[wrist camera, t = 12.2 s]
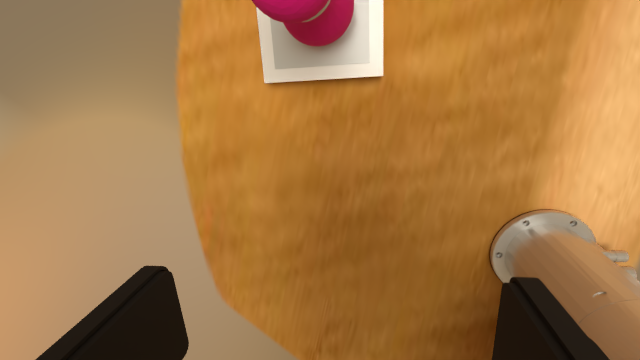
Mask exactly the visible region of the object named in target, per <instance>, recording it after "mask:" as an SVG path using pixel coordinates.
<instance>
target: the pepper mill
mask: <svg viewBox="0 0 640 360" xmlns="http://www.w3.org/2000/svg"><path fill="white" fill-rule="evenodd" d="M252 1H253V3H254V4H255V5H256V7H257V8H258V9H259V10H260V11H262V12H263V13H264V14H265V15H267V16H268V17H270V18H272V19H273V20H276V21H279V22H283V24H284V25H285V27H286V29H287V30H288V31H289V33H290V34H291V35H292V36H293V37H294V38H295V39H296V40H298V41H299V42H301V43H303V44H306V45H309V46H325V45H328V44H330V43H332V42H334V41H336V40H337V39H339V38H340V37H341V36H342V35H343V34H344V32H345V31H346V29H347V28H348V26H349V24H350V22H351V19H352V16H353V12H354V0H252Z"/></svg>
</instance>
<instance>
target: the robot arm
mask: <svg viewBox="0 0 640 360" xmlns="http://www.w3.org/2000/svg"><path fill="white" fill-rule="evenodd" d="M523 221H524V222H523ZM490 260H491V264H492V267H493V269H494V271H495V273H496V275H497V276H498V277H499V279H500V280H501V281H502V282H503V283H504V284H503V286H502V291H501V299H500V306H499V313H498V320H497V327H496V334H495V341H494V348H493V356H492V360H640V282H639V281H638V280H637V273H636V271H635V270H634V268H633V267H630V266H619V265H617V264H616V263H615V262H627V261H628V260H629V255H628V253H627V252H626V251H624V250H612V251H606V250H605V249H603V248H602V247H601V246H599V245H598V244H597V243H596V238H595V236H594V234H593V232H592V231H591V229H590V228H589V227H588V226H587V225H586V224H585V223H584V222H582V221H581V220H580V219H578V218H576V217H575V216H573V215H571V214H568V213H566V212H563V211H557V210H538V211H532V212H529V213H526V214H523V215H521V216H519V217H517V218H515V219H513V220H512V221H510V222H509V223H507V224H506V225H505V226H504V227H503V228H502V229H501V230H500V231H499V233H498V234H497V236H496V237H495V239H494V241H493V243H492V246H491V251H490ZM613 261H614V262H613ZM188 344H189V342H188V337H187V333H186V328H185V324H184V320H183V316H182V312H181V308H180V303H179V299H178V295H177V291H176V287H175V282H174V278H173V275H172V273H171V272H169V271H168V269H167V268H166V267H164V266H144V267H143V268H141V269H140V270H139V271H138V272H136V273H135V274H134V275H133V276H132V277H131V278H130V279H128V280H127V281H126V282H125V283H124V284H123V285H122V286H120V287H119V288H118V289H117V290H116V291H115V292H113V293H112V294H111V295H110V296H109V297H108V298H106V299H105V300H104V301H103V302H102V303H101V304H99V305H98V306H97V307H96V308H95V309H94V310H92V311H91V312H90V313H89V314H88V315H87V316H86V317H85V318H83V319H82V320H81V321H80V322H79V323H77V325H75V326H74V327H73V328H72V329H71V330H69V331H68V332H67V333H66V334H65V335H64V336H62V337H61V338H60V339H59V340H58V341H57V342H56V343H54V344H53V345H52V346H51V347H50V348H49V349H47V350H46V351H45V352H44V353H43V354H42V355H40V356H39V357H38V358H37V359H36V360H182V359H183V358H184V356H185V354H186V353H187V350H188Z"/></svg>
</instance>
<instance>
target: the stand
mask: <svg viewBox="0 0 640 360" xmlns="http://www.w3.org/2000/svg"><path fill="white" fill-rule="evenodd" d="M256 9H257V18H258V27H259V36H260V45H261V55H262V64H263V73H264V82H265V83H277V82H293V81H309V80H325V79H341V78H358V77H374V76H383V0H354V12H353V16H352V19H351V22H350V24H349V26H348V28H347V29H346V31H345V32H344V34H343V35H342V36H341V37H340V38H339V39H337V40H336V41H334V42H332V43H330V44H328V45H325V46H309V45H306V44H303V43H301V42H299V41H298V40H296V39H295V38H294V37H293V36H292V35H291V34H290V33H289V31H288V30H287V29H286V27H285V25H284V24H283V22H279V21H276V20H273V19H272V18H270V17H268V16H267V15H265V14H264V13H263V12H262V11H260V10H259V9H258V8H257V7H256Z"/></svg>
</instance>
